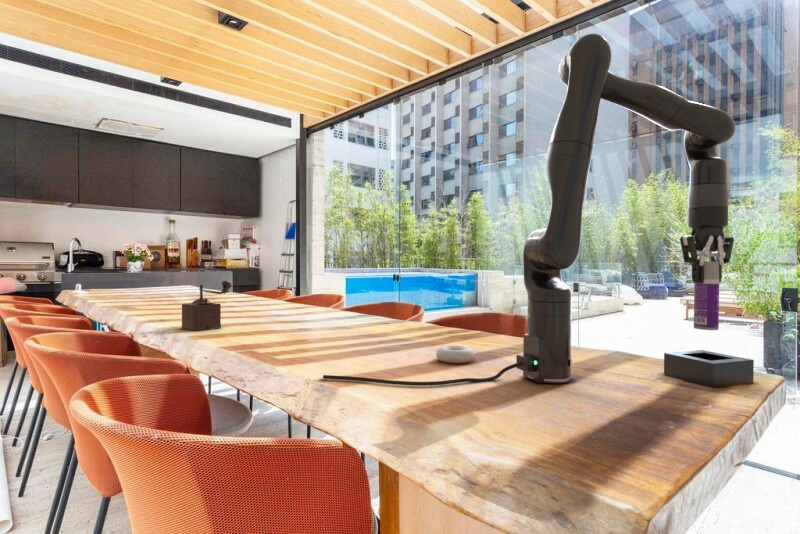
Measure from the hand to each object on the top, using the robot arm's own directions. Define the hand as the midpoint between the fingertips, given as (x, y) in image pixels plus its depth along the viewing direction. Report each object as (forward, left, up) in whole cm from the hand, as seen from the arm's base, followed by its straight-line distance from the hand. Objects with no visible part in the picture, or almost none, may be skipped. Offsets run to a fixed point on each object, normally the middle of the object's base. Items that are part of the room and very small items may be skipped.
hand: (706, 282), depth 106 cm
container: (0, 0, -11) cm, 11 cm away
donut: (-45, +35, -22) cm, 61 cm away
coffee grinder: (-108, +119, -22) cm, 162 cm away
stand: (0, 0, -21) cm, 21 cm away
